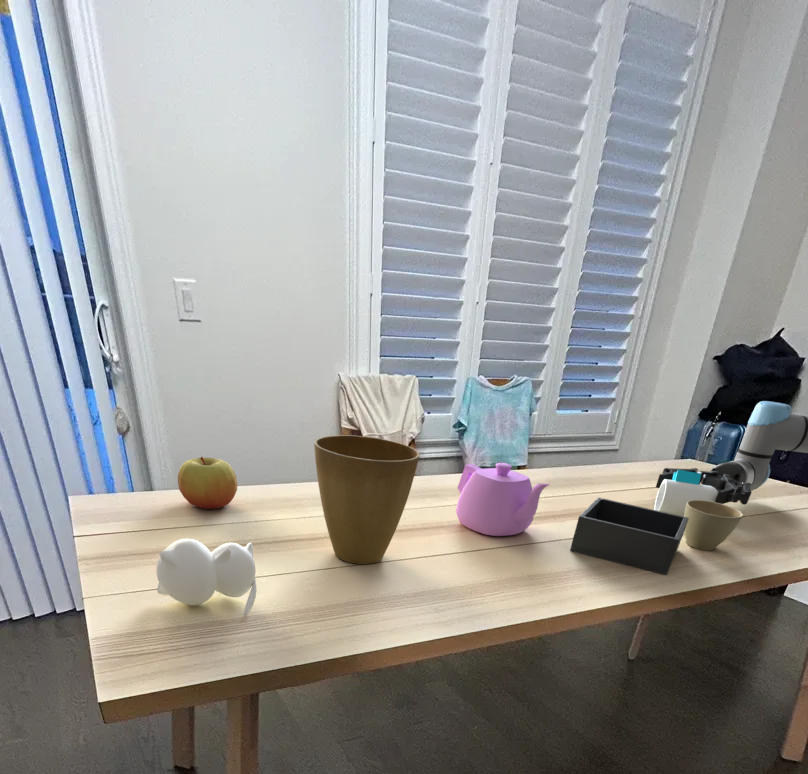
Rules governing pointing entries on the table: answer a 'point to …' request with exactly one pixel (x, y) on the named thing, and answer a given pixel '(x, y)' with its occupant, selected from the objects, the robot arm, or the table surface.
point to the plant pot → (363, 492)
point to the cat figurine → (206, 572)
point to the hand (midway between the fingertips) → (687, 489)
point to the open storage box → (629, 535)
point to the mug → (682, 492)
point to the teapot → (496, 500)
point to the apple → (207, 482)
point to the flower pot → (709, 523)
